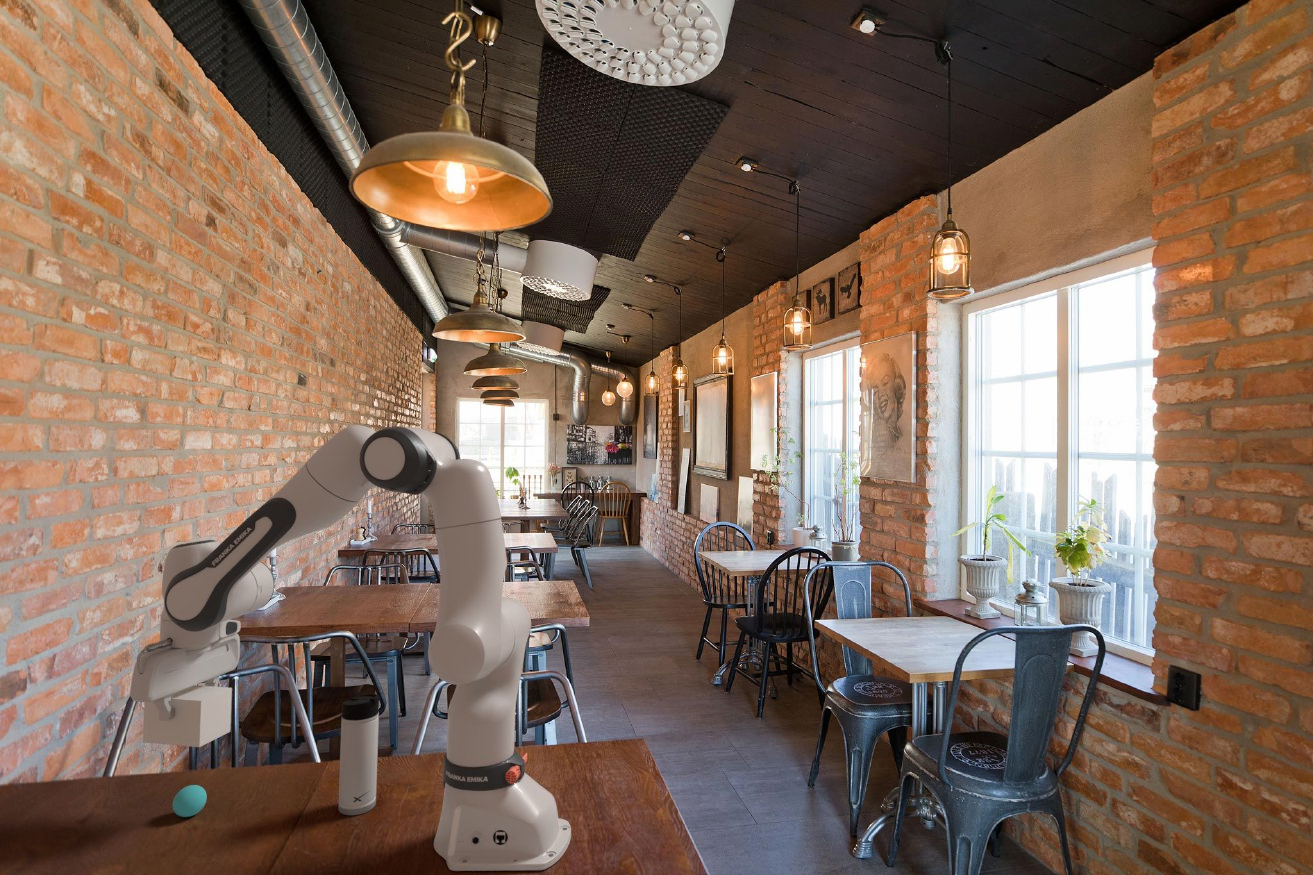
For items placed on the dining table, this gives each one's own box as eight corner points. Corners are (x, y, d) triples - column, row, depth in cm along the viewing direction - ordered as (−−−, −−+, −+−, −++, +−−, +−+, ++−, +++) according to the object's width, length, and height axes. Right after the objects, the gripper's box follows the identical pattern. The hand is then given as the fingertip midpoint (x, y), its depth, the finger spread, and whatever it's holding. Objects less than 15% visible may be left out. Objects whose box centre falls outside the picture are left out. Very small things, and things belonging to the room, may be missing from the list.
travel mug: (363, 818, 122) (367, 703, 123) (330, 813, 123) (334, 700, 124) (384, 801, 128) (388, 692, 129) (352, 797, 129) (356, 688, 130)
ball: (196, 774, 125) (184, 798, 125) (173, 787, 120) (160, 811, 120) (218, 789, 124) (205, 813, 124) (195, 803, 119) (182, 828, 119)
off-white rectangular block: (230, 731, 125) (231, 687, 125) (199, 747, 118) (201, 700, 118) (176, 727, 127) (178, 684, 127) (142, 742, 120) (144, 696, 120)
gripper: (155, 648, 112) (151, 734, 112) (247, 620, 133) (244, 693, 132) (121, 646, 113) (117, 731, 113) (218, 618, 134) (215, 691, 133)
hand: (187, 710), depth 123 cm, fingers closed on off-white rectangular block, 7 cm apart
